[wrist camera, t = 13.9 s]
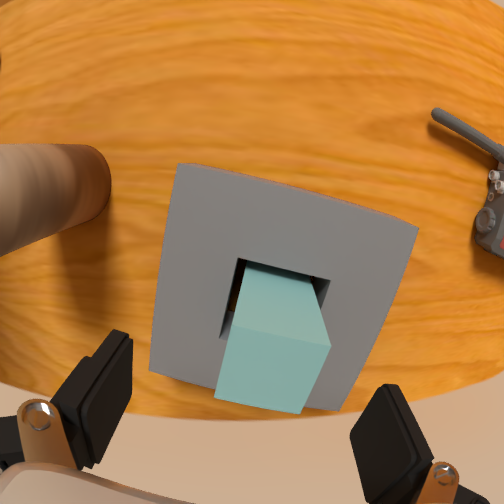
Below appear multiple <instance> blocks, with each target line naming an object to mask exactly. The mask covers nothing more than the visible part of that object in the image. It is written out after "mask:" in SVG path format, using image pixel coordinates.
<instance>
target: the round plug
mask: <svg viewBox="0 0 504 504" xmlns="http://www.w3.org/2000/svg"><path fill="white" fill-rule="evenodd" d="M110 191H111V174H110V170H109V167H108V164H107V162H106V160H105V158H104V157H103V155H102V154H101V153H100V152H99V151H98V150H96V149H95V148H93V147H91V146H88V145H74V144H0V257H1V256H3V255H5V254H8V253H10V252H12V251H14V250H17V249H19V248H21V247H24V246H26V245H28V244H31V243H33V242H36V241H38V240H40V239H43V238H45V237H48V236H50V235H53V234H55V233H58V232H60V231H63V230H66V229H68V228H71V227H73V226H76V225H79V224H81V223H84V222H87V221H90V220H92V219H94V218H95V217H97V216H98V215H99V214H100V213H101V212H102V210H103V209H104V207H105V206H106V204H107V202H108V199H109V196H110Z"/></svg>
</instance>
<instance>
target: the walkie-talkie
mask: <svg viewBox="0 0 504 504" xmlns="http://www.w3.org/2000/svg"><path fill="white" fill-rule="evenodd" d="M431 115H432V118H433V119H434V120H435V121H437V122H438V123H440V124H442V125H444V126H446V127H448V128H449V129H451V130H453V131H455V132H456V133H458V134H460V135H461V136H463V137H465V138H466V139H468V140H470V141H471V142H473V143H475V144H476V145H478V146H479V147H481V148H482V149H484V150H485V151H487V152H489V153H490V154H491V155H493V157H494V158H495V159H496V160H498V161H499V164H498V170H495V171H494V170H491V171H490V173H489V179H490V180H491V183H490V187H489V191H488V195H487V199H486V202H485V206H484V208H482V209H481V210H480V211H479V212H478V214H477V217H476V229H477V232H476V235H475V238H474V239H475V241H476V243H477V244H479V245H481V246H483V247H484V250H486V251H488V252H490V253H492V254H494V255H496V256H497V255H498V257H500V258H502V259H504V146H502V145H501V144H496V143H495V142H494V141H492V140H491V139H489V138H488V137H486V136H485V135H483V134H482V133H480V132H479V131H477V130H476V129H474V128H473V127H471V126H469V125H468V124H466V123H464V122H463V121H461V120H460V119H458V118H456V117H454V116H453V115H451V114H449V113H448V112H446V111H444V110H442V109H440V108H434V109H433V110H432V112H431Z"/></svg>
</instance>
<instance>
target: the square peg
mask: <svg viewBox="0 0 504 504" xmlns="http://www.w3.org/2000/svg"><path fill="white" fill-rule="evenodd" d="M330 348H331V344H330V340H329V337H328V334H327V330H326V327H325V324H324V321H323V318H322V314H321V311H320V308H319V305H318V302H317V299H316V295H315V292H314V289H313V286H312V283H311V280H310V277H309V275H307V274H303V273H299V272H295V271H291V270H287V269H283V268H278V267H274V266H270V265H266V264H262V263H258V262H254V261H250V260H247V264H246V268H245V272H244V276H243V280H242V285H241V289H240V293H239V297H238V301H237V305H236V309H235V313H234V317H233V321H232V325H231V329H230V333H229V337H228V342H227V346H226V350H225V354H224V358H223V362H222V366H221V370H220V374H219V378H218V383H217V387H216V391H215V395H214V398H218V399H222V400H226V401H231V402H235V403H240V404H244V405H249V406H254V407H259V408H265V409H270V410H276V411H282V412H288V413H295V414H300V413H301V411H302V409H303V407H304V405H305V403H306V401H307V398H308V396H309V394H310V392H311V390H312V388H313V386H314V384H315V382H316V379H317V377H318V375H319V373H320V371H321V368H322V366H323V364H324V362H325V359H326V357H327V355H328V353H329V350H330Z"/></svg>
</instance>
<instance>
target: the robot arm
mask: <svg viewBox="0 0 504 504" xmlns="http://www.w3.org/2000/svg"><path fill="white" fill-rule="evenodd" d="M132 362H133V339H131V338H129V334H128V333H125V332H121V331H118V330H115V329H113V330H112V331H111V332H110V334H109V335H108V336H107V338H106V339H105V340H104V341H103V343H102V344H101V345H100V347H99V348H98V349H97V351H96V352H95V353H94V354H93V356H92V357H88V356H85V357H84V358H83V359H82V360H81V361H80V362H79V363H78V365H77V366H76V367H75V369H74V370H73V371H72V372H71V374H70V375H69V376H68V378H67V379H66V380H65V382H64V383H63V384H62V386H61V387H60V388H59V390H58V391H57V392H56V394H55V395H54V396H53V398H52V399H51V400H50V402H48V401H46V400H42V399H31V400H28V401H26V402H24V403H23V404H22V405H21V406H20V407H19V409H18V411H17V415H15V416H8V417H0V504H194V503H189V502H185V501H180V500H176V499H172V498H168V497H164V496H159V495H156V494H152V493H149V492H145V491H142V490H138V489H135V488H131V487H128V486H125V485H122V484H119V483H116V482H113V481H110V480H107V479H104V478H101V477H98V476H95V475H93V474H90V473H86V472H83V471H81V470H82V469H83V467H84V466H85V467H88V468H90V469H92V468H93V466H94V463H97V464H99V463H100V462H101V460H102V458H103V455H104V453H105V451H106V449H107V446H108V444H109V442H110V440H111V438H112V436H113V434H114V432H115V430H116V427H117V425H118V423H119V421H120V419H121V417H122V415H123V413H124V411H125V409H126V407H127V405H128V403H129V401H130V398H131V395H132ZM350 441H351V445H352V449H353V453H354V456H355V460H356V464H357V467H358V472H359V476H360V479H361V484H362V488H363V492H364V496H365V500H366V502H367V503H369V504H490V503H489V501H488V500H487V499H486V498H484V497H482V496H481V495H479V494H476V493H475V492H473V491H471V490H469V489H467V488H465V487H463V486H461V485H459V474H458V472H457V470H456V469H455V468H454V467H453V466H452V465H451V464H449V463H446V462H436V463H435V464H432V460H433V459H434V456H433V454H432V452H431V450H430V448H429V446H428V444H427V441H426V439H425V438H424V435H423V433H422V431H421V429H420V427H419V425H418V423H417V421H416V419H415V417H414V415H413V413H412V411H411V409H410V407H409V405H408V403H407V401H406V399H405V397H404V395H403V393H402V391H401V390H400V388H399V386H398V385H396V384H383V385H382V386H381V387H379V388H378V389H377V390H376V392H375V393H374V395H373V397H372V398H371V400H370V402H369V403H368V405H367V407H366V408H365V410H364V411H363V413H362V415H361V416H360V418H359V419H358V421H357V422H356V424H355V425H354V427H353V428H352V430H351V432H350Z"/></svg>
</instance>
